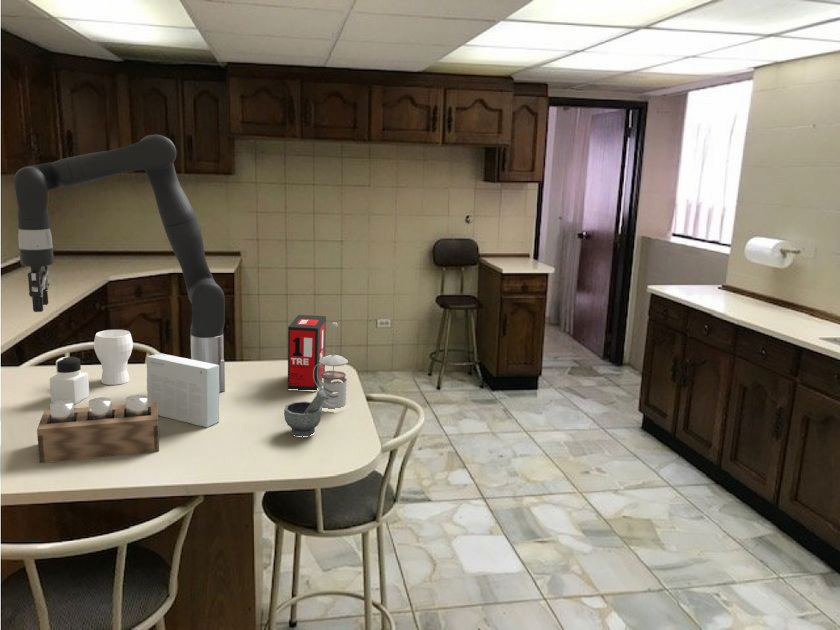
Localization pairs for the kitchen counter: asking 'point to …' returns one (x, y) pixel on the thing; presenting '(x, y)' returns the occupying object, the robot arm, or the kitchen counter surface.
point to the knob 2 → (137, 405)
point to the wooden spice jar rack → (97, 435)
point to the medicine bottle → (69, 381)
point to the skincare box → (184, 389)
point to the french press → (328, 387)
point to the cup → (113, 355)
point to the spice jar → (100, 408)
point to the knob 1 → (62, 411)
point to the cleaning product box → (305, 351)
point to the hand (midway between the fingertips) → (41, 308)
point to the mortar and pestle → (304, 415)
